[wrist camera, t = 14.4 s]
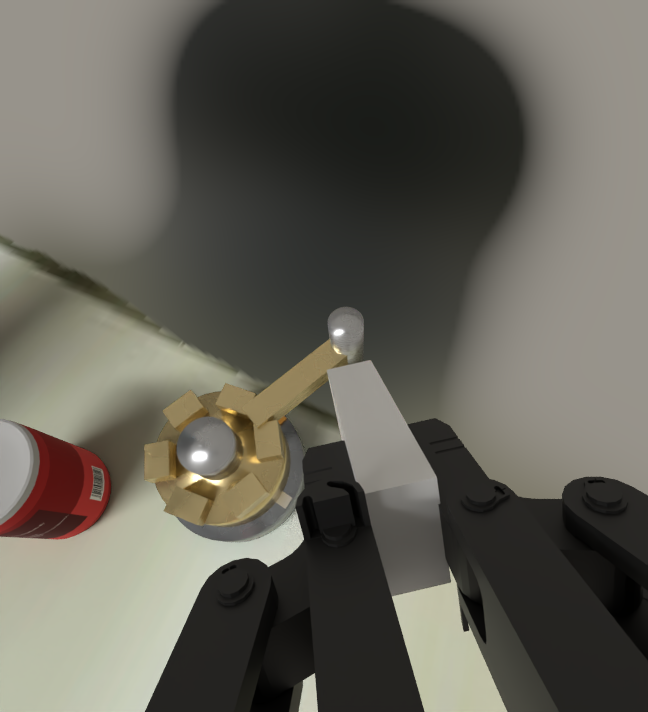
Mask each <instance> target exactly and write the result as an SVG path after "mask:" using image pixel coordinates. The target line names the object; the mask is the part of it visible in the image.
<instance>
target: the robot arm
mask: <svg viewBox="0 0 648 712" xmlns="http://www.w3.org/2000/svg"><path fill="white" fill-rule="evenodd" d="M327 374H328V379H329V383H330V388H331V393H332V397H333V401H334V407H335V411H336V416H337V420H338V425H339V430H340V434H341V439H342V441H339V442H334V443H330V444H326V445H321V446H317V447H312V448H309V449H308V451H307V452H306V454H305V456H304V458H303V460H302V465H303V475H304V476H303V477H304V488H305V489H304V490H303V491H302V492H301V494H300V495H299V496H298V498H297V502H296V506H295V507H296V511H297V514H298V518H299V522H300V525H301V529H302V532H303V536H304V541H303V542H302V543H301V545H300V546H299V547H298V548H297V549H296V550H295V551H294V552H293V553H292V554H291V555H289V556H287V557H286V558H284V559H283V560H281V561H279V562H277V563H275V564H273V565H271V566H269V567H267V565H266V564H264V563H263V562H261V561H259V560H258V559H250V558H244V559H239V560H234V561H231V562H229V563H227V564H225V565H223V566H221V567H220V568H219V569H217V570H216V571H215V572H214V573H213V574H212V575H211V576H209V578H208V579H207V581H206V582H205V584H204V585H203V587H202V588H201V590H200V592H199V594H198V597H197V599H196V601H195V603H194V605H193V608H192V610H191V612H190V614H189V616H188V619H187V621H186V623H185V625H184V627H183V629H182V632H181V634H180V636H179V638H178V640H177V643H176V645H175V647H174V649H173V651H172V654H171V656H170V658H169V660H168V662H167V665H166V667H165V669H164V671H163V673H162V675H161V678H160V680H159V682H158V684H157V686H156V689H155V691H154V693H153V695H152V697H151V700H150V702H149V704H148V706H147V708H146V710H145V712H298V711H299V705H300V699H301V693H302V688H303V680H304V679H306V678H307V677H309V676H311V675H312V674H314V673H315V678H316V691H317V704H318V712H424V708H423V705H422V701H421V698H420V694H419V691H418V687H417V684H416V680H415V677H414V673H413V670H412V666H411V663H410V659H409V656H408V652H407V649H406V645H405V642H404V638H403V635H402V631H401V628H400V624H399V621H398V617H397V614H396V610H395V607H394V603H393V600H392V596H395V595H399V594H403V593H408V592H412V591H416V590H420V589H425V588H429V587H433V586H437V585H442V584H446V583H450V582H451V580H450V572H449V567H450V569H451V571H452V574H453V576H454V578H455V580H456V582H457V588H458V596H459V604H460V612H461V620H462V625H463V630H464V632H465V631H469V626H470V628H471V630H472V632H473V635H474V637H475V639H476V641H477V644H478V646H479V648H480V650H481V653H482V655H483V657H484V659H485V662H486V664H487V666H488V669H489V671H490V673H491V675H492V678H493V680H494V682H495V684H496V687H497V689H498V691H499V693H500V696H501V698H502V700H503V703H504V705H505V707H506V709H507V712H648V496H647V495H646V494H644V493H642V492H641V491H639V490H637V489H635V488H634V487H632V486H629V485H627V484H625V483H622V482H620V481H618V480H614V479H609V478H604V477H584V478H580V479H576V480H573V481H571V482H570V483H569V484H568V485H567V486H565V488H564V491H563V493H562V499H531V498H522V497H518V496H517V495H516V494H515V493H514V492H513V491H512V490H511V489H510V488H508V487H507V486H506V485H505V484H502V483H500V482H498V481H495V480H491V479H489V478H488V477H487V475H486V474H485V473H484V471H483V470H482V469H481V467H480V466H479V465H478V463H477V462H476V461H475V459H474V458H473V457H472V455H471V454H470V453H469V451H468V450H467V449H466V448H465V447H464V444H462V442H461V441H460V439H458V437H457V435H456V434H455V432H454V431H453V430H452V428H451V427H450V426H449V425H447V424H445V423H443V422H441V421H439V420H438V419H435V418H434V419H429V420H425V421H421V422H417V423H412V424H407V423H406V422H405V420H404V418H403V416H402V415H401V413H400V411H399V409H398V407H397V406H396V404H395V402H394V400H393V399H392V397H391V395H390V393H389V392H388V390H387V388H386V386H385V384H384V383H383V381H382V379H381V377H380V376H379V374H378V372H377V370H376V368H375V367H374V365H373V363H372V361H371V360H368V361H364V362H359V363H355V364H350V365H346V366H341V367H337V368H333V369H328V370H327ZM468 623H469V626H468Z"/></svg>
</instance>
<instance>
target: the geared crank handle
mask: <svg viewBox="0 0 648 712" xmlns="http://www.w3.org/2000/svg"><path fill="white" fill-rule="evenodd" d="M328 329H329V336H330V339H329V340H328V341H326V342H325V343H324V344H323V345H321V346H320V347H319V348H317V349H316V350H315V351H313V352H312V353H311V354H310V355H308V356H307V357H306V358H304V359H303V360H302V361H301V362H299V363H298V364H297V365H296V366H294V367H293V368H292V369H291V370H289V371H288V372H287V373H286V374H284V375H283V376H281V377H280V378H279V379H278V380H276V381H275V382H274V383H272V384H271V385H270V386H269V387H267V388H266V389H265V390H263V391H262V392H261V393H260V394H258V395H256V393H253V392H250V391H247V390H244V389H241V388H238V387H235V386H232V385H229V384H226V383H225V385H224V387H223V389H222V391H220V392H213V393H209V394H205V395H202V396H200V397H197V395H195V394H194V393H193V392H192V391H191V390H190V391H188V392H187V393H186V394H184V395H183V396H181V397H180V398H179V399H177V400H176V401H175V402H173V403H172V404H171V405H169V406H168V407H167V408H165V409H164V410H163V413H164V414H165V416H166V417H167V418H168V420H169V421H168V422H167V423H166V424H165V426H164V428H163V430H162V431H161V433H160V435H159V438H158V440H157V442H156V443H150V444H145V445H144V480H146V481H148V482H151V483H155V484H156V487H157V490H158V492H159V494H160V496H161V497H162V499H163V500H164V502H165V503H166V504H167V505H166V507H165V509H164V511H165V512H167V513H169V514H172V515H174V516H177V517H179V518H181V519H184V520H186V521H188V522H191V523H193V524H196V525H200V526H203V525H204V524H206V525H211V526H217V527H236V526H240V525H244V524H247V523H249V522H252V521H254V520H255V519H257V518H259V517H260V516H262V515H263V514H264V513H266V512H267V511H268V510H269V509H270V508H271V507H272V506H273V505H274V504H275V503H276V501H277V500H278V499H279V497H280V496H281V494H282V492H283V490H284V488H285V486H286V483H287V480H288V477H289V472H290V464H291V457H290V449H289V445H288V442H287V439H286V437H285V435H284V433H283V431H282V429H281V426H280V424H279V422H278V421H279V420H280V419H281V418H282V417H283V416H285V415H286V414H287V413H288V412H290V411H291V410H292V409H293V408H295V407H296V406H297V405H298V404H300V403H301V402H302V401H303V400H305V399H306V398H307V397H308V396H309V395H311V394H312V393H313V392H315V391H316V390H317V389H318V388H320V387H321V386H322V385H323V384H324V383H326V382H327V381H328V380H329V379H328V374H327V370H328V369H333V368H337V367H341V366H346V365H350V364H355V363H359V362H363V340H364V338H363V337H364V320H363V317H362V315H361V313H360V312H358V311H357V310H356V309H354V308H350V307H342V308H338V309H337V310H335V311H333V312H332V313H331V315H330V316H329V319H328Z"/></svg>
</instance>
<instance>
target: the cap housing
mask: <svg viewBox="0 0 648 712" xmlns="http://www.w3.org/2000/svg"><path fill="white" fill-rule="evenodd" d="M278 422H279V424H280V426H281V429H282V431H283V433H284V435H285V437H286V439H287V442H288V445H289V449H290V457H291V464H290V472H289V477H288V480H287V483H286V486H285V488H284V490H283V492H282V494H281V496H280V497H279V499H278V500H277V501H276V503H275V504H274V505H273V506H272V507H271V508H270V509H269V510H268V511H267V512H266V513H264V514H263V515H262V516H260V517H259V518H257V519H255V520H254V521H252V522H249V523H247V524H244V525H240V526H236V527H217V526H211V525H206V524H204V525H203V526H200V525H196V524H193V523H191V522H188V521H186V520H184V519H181V518H179V517H177V516H176V517H177V518H178V520H179V521H180V522H181V523H182V524H183V525H184V526H185V527H186V528H188V529H189V530H191V531H192V532H194V533H195V534H198V535H200V536H202V537H204V538H208V539H211V540H218V541H226V542H245V541H251V540H254V539H257V538H260V537H262V536H264V535H267V534H269V533H270V532H272V531H273V530H275V529H276V528H278V527H279V526H280V525H281V524H282V523H284V521H285V520H286V519H287V518H288V517H289V516H290V515H291V513H292V512H293V511H294V509H295V508H296V507H295V506H296V502H297V498H298V496H299V495H300V494H301V492H302V491H303V490H304V477H303V476H304V475H303V465H302V460H303V458H304V456H305V451H304V447H303V445H302V442H301V440H300V438H299V436H298V434H297V432H296V430H295V429H294V427H293V425H292V424H291V422H290V421H289V420H288V418H287V417H286V416H283V417H282V418H281V419H280V420H279V421H278Z"/></svg>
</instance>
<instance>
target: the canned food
mask: <svg viewBox="0 0 648 712" xmlns="http://www.w3.org/2000/svg"><path fill="white" fill-rule="evenodd" d="M110 493H111V480H110V475H109V472H108V470H107V468H106V466H105V465H104V463H103V462H102V461H101V459H100V458H99V457H98V456H97V455H95V454H93V453H92V452H90V451H88V450H85V449H83V448H80V447H78V446H75V445H73V444H70V443H68V442H65V441H63V440H60V439H58V438H55V437H53V436H50V435H47V434H45V433H42V432H40V431H37V430H35V429H32V428H30V427H27V426H24V425H21V424H19V423H16V422H13V421H8V420H5V419H0V537H21V538H41V539H65V538H69V537H72V536H75V535H77V534H79V533H81V532H83V531H85V530H87V529H88V528H89V527H91V526H92V525H93V524H94V523H95V522H96V521H97V520H98V519H99V518H100V516H101V515H102V513H103V512H104V510H105V508H106V506H107V504H108V501H109V497H110Z"/></svg>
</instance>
